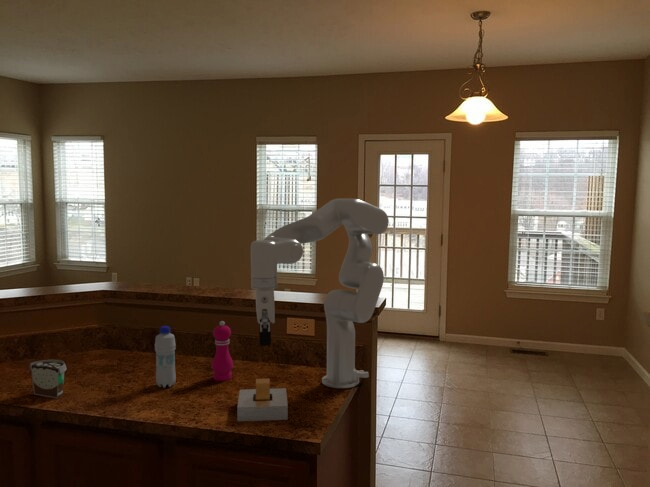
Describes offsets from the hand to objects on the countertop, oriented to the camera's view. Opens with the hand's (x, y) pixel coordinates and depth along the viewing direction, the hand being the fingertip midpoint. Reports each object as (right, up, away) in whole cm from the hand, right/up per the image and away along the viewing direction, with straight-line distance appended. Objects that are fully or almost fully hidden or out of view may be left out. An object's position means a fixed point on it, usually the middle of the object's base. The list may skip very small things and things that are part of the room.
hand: (265, 340), depth 159 cm
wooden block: (-1, -21, 0) cm, 21 cm away
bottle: (-35, -19, +21) cm, 45 cm away
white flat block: (-1, -21, 0) cm, 21 cm away
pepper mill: (-18, -18, +29) cm, 38 cm away
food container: (-69, -19, +13) cm, 72 cm away
